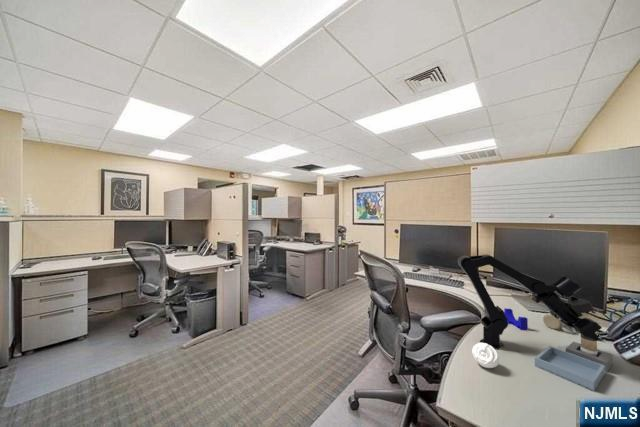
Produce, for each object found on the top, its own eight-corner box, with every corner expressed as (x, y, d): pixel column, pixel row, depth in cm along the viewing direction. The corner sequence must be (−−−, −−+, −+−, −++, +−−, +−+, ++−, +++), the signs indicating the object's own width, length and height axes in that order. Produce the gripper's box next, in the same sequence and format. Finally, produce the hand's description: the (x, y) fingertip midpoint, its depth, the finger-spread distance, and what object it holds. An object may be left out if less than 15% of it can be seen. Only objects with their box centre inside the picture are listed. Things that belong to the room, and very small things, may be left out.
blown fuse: (596, 358, 83) (595, 323, 83) (579, 352, 87) (578, 318, 87) (598, 355, 85) (598, 320, 86) (582, 349, 89) (581, 316, 89)
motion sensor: (469, 364, 83) (469, 343, 83) (476, 356, 88) (476, 336, 88) (495, 376, 77) (495, 353, 77) (502, 367, 81) (501, 346, 82)
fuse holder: (606, 372, 79) (606, 362, 79) (565, 357, 88) (565, 348, 88) (612, 363, 84) (612, 354, 84) (573, 349, 93) (573, 341, 93)
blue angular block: (501, 319, 122) (501, 308, 122) (510, 319, 121) (510, 308, 121) (517, 330, 110) (517, 317, 110) (527, 330, 109) (527, 318, 109)
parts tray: (593, 391, 70) (593, 381, 70) (534, 365, 82) (534, 357, 82) (605, 374, 78) (605, 365, 78) (550, 353, 90) (549, 345, 90)
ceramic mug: (541, 326, 114) (541, 310, 114) (549, 323, 117) (549, 308, 117) (571, 336, 104) (571, 320, 104) (579, 332, 107) (579, 317, 107)
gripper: (593, 299, 79) (638, 337, 75) (558, 285, 97) (593, 314, 93) (564, 318, 82) (606, 355, 78) (535, 300, 99) (568, 330, 95)
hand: (593, 337), depth 86 cm, fingers closed on blown fuse, 4 cm apart
